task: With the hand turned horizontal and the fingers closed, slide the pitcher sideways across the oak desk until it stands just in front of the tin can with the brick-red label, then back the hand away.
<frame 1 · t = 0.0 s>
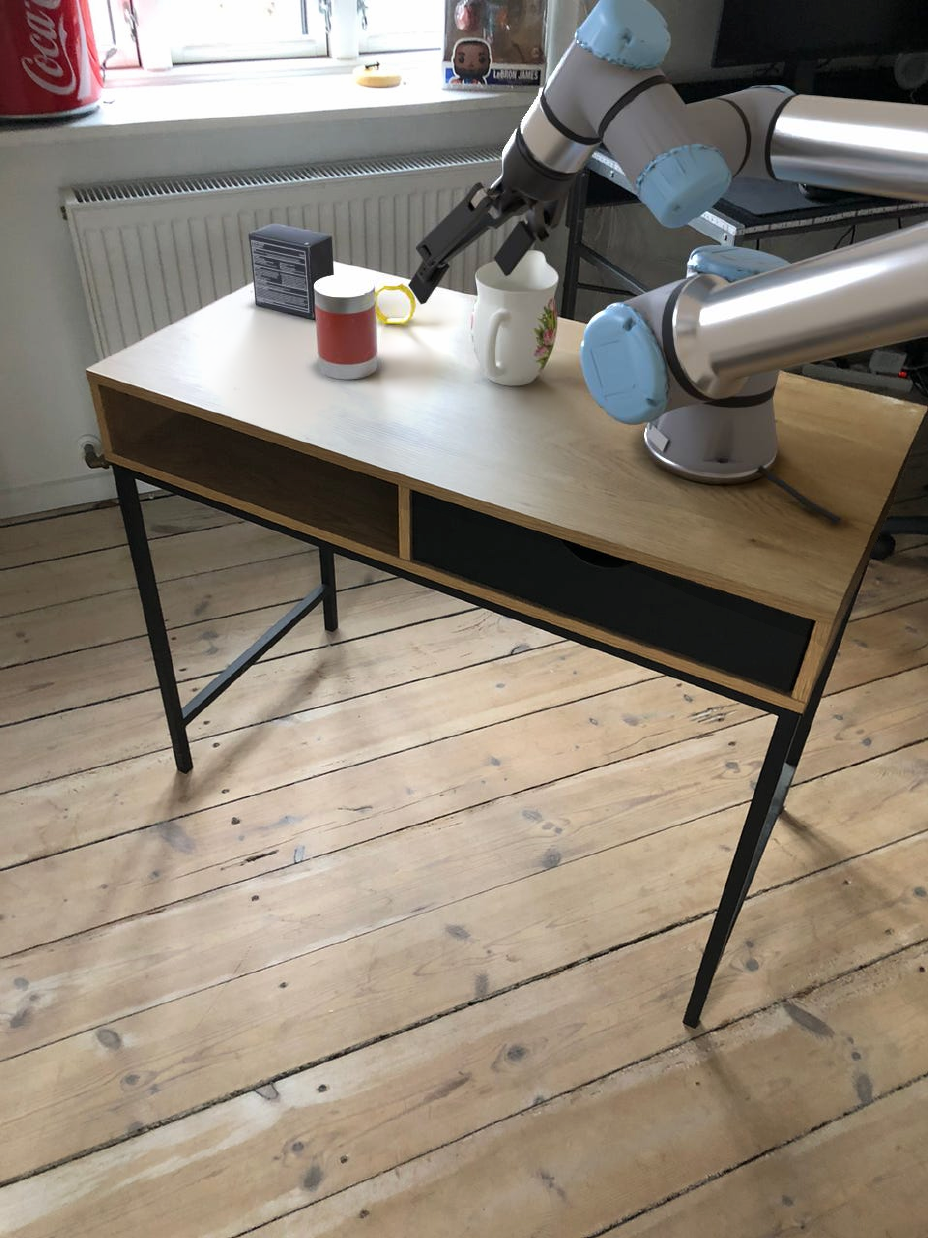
hand: (460, 279, 119), 15 cm above the table, tool tilted 35°, fingers open, 13 cm apart
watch: (394, 324, 147), on the table
tin can: (348, 366, 135), on the table
small box: (296, 306, 151), on the table
pitcher: (508, 378, 134), on the table
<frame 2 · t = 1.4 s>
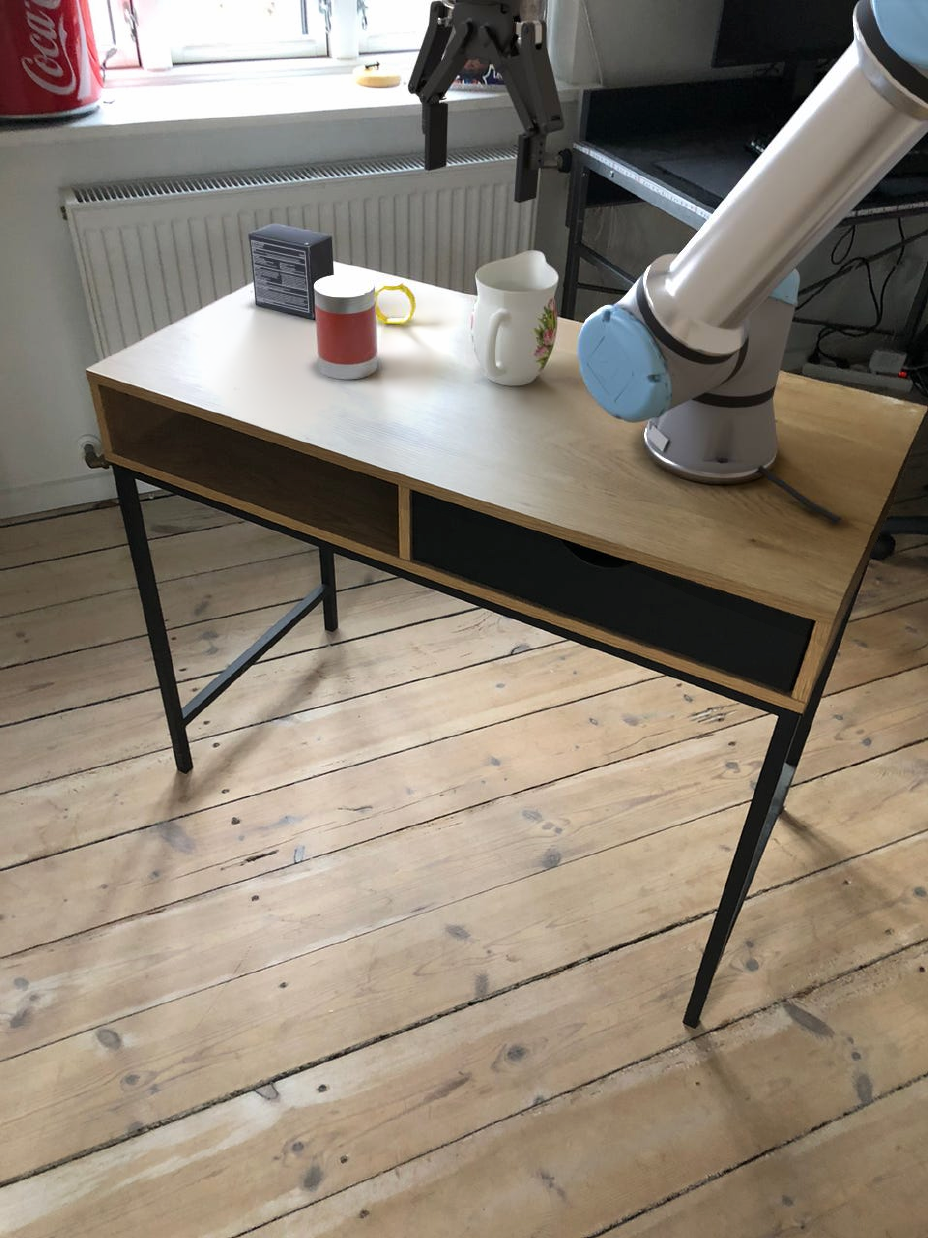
hand: (478, 183, 111), 26 cm above the table, tool pointing down, fingers open, 13 cm apart
nothing on the table moved.
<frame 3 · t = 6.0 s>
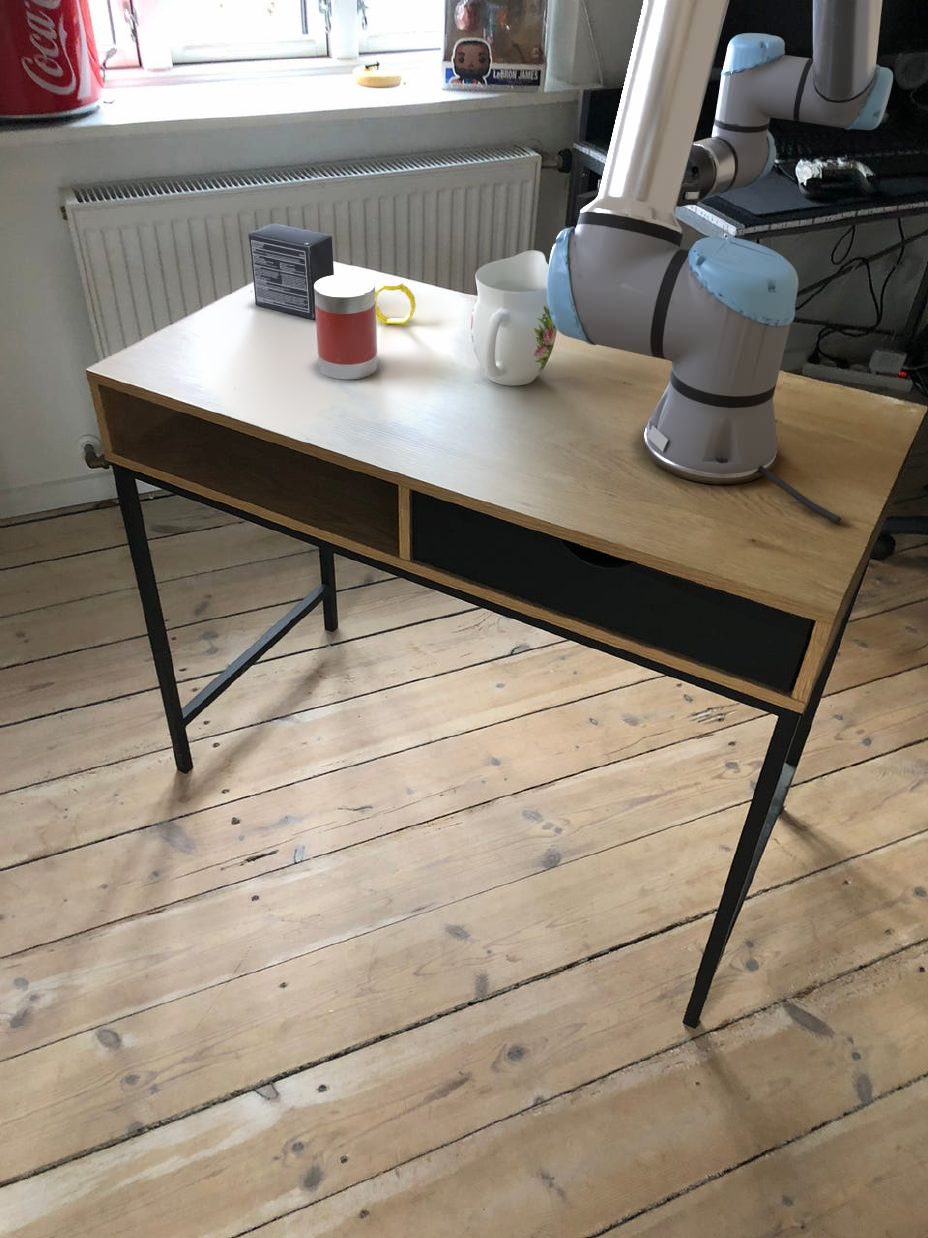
hand: (580, 208, 128), 19 cm above the table, tool horizontal, fingers closed
nothing on the table moved.
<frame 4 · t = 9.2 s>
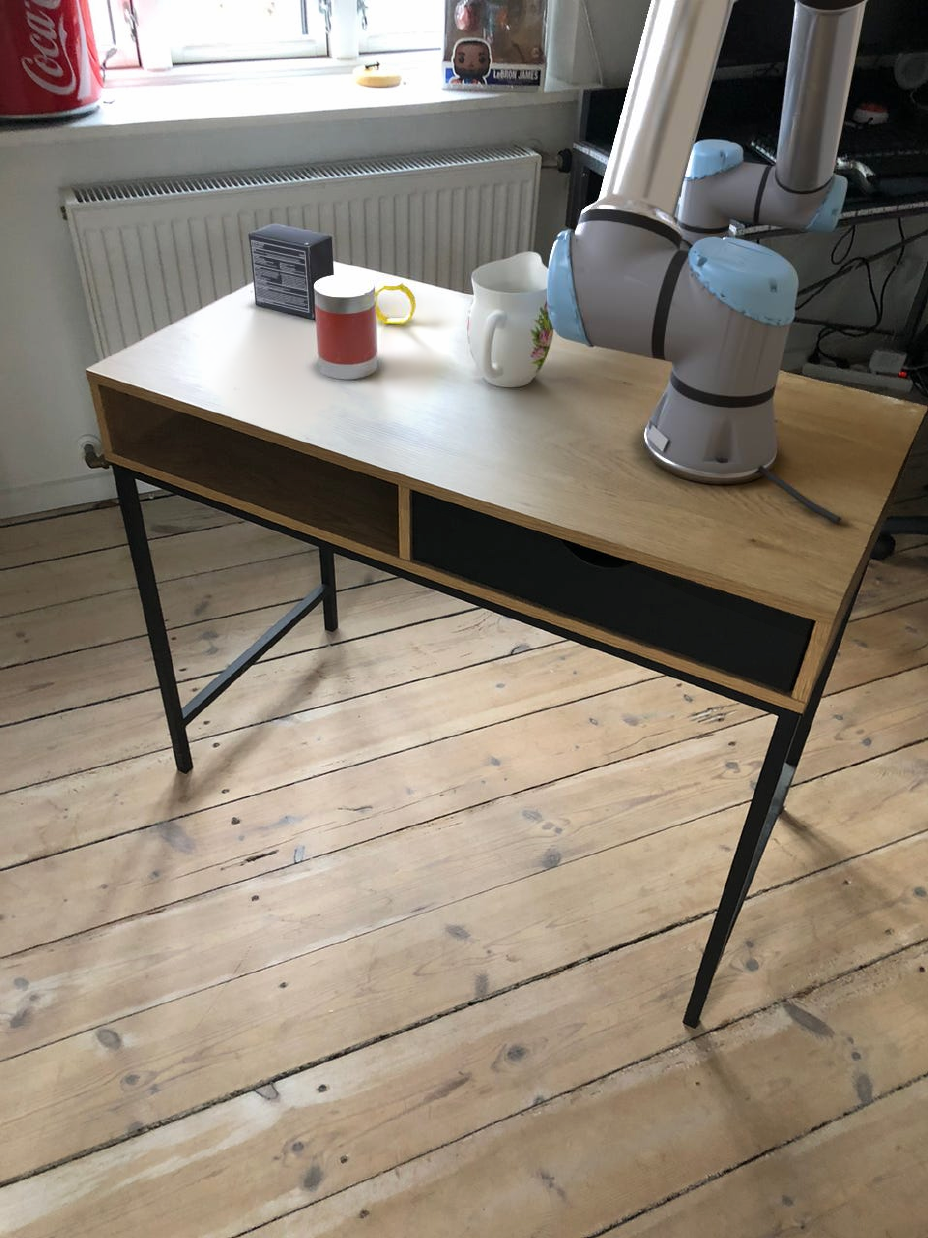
hand: (543, 314, 133), 7 cm above the table, tool horizontal, fingers closed
pitcher: (505, 380, 134), on the table, touching gripper
everything else where it was.
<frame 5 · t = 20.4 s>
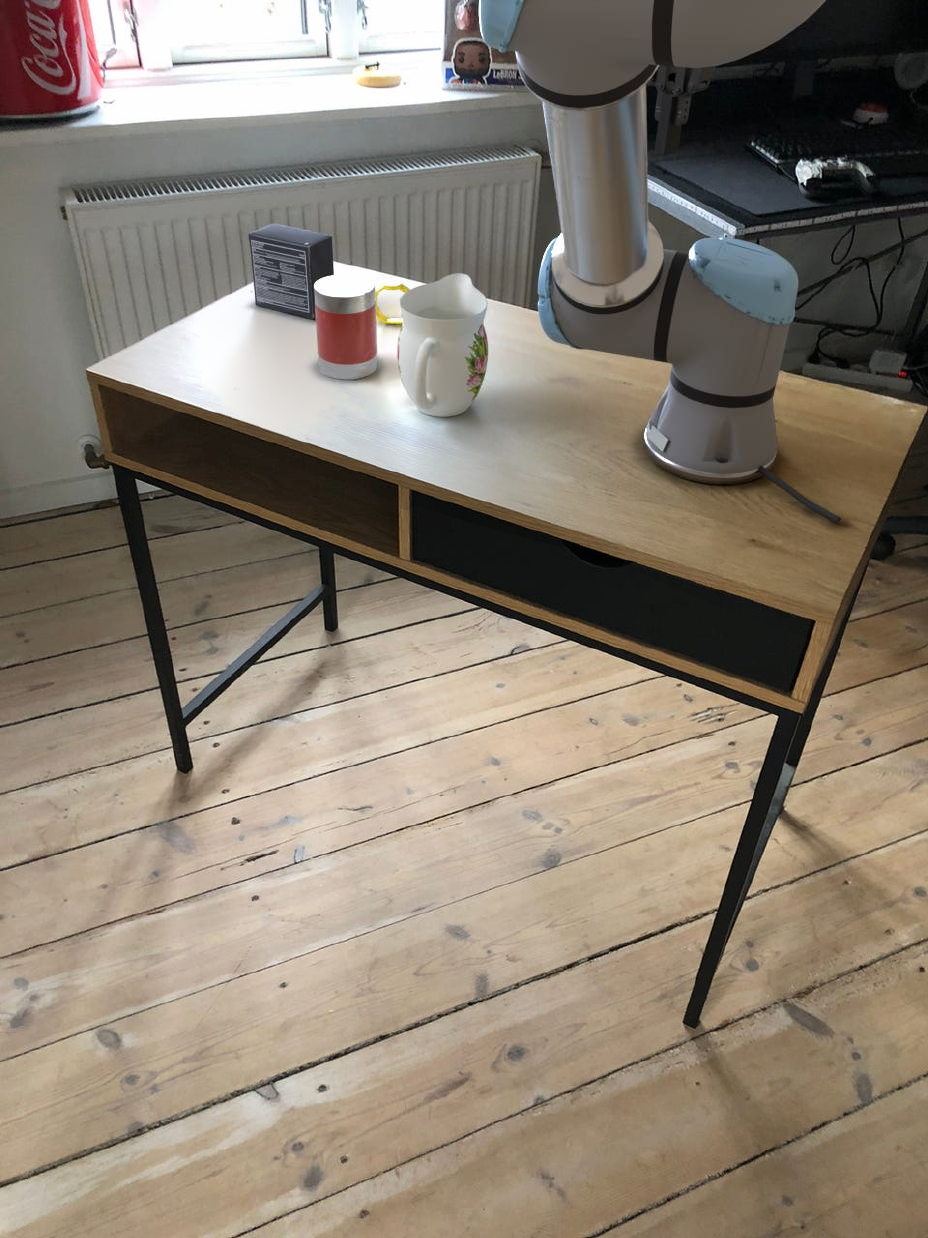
hand: (666, 151, 124), 26 cm above the table, tool pointing down, fingers closed
pitcher: (439, 409, 127), on the table
everything else where it was.
at the end: pitcher inside the target area on the table beside the tin can (0.7 cm from its centre), on the table; pitcher tilted 0°; tin can moved 0.0 cm from its start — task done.
